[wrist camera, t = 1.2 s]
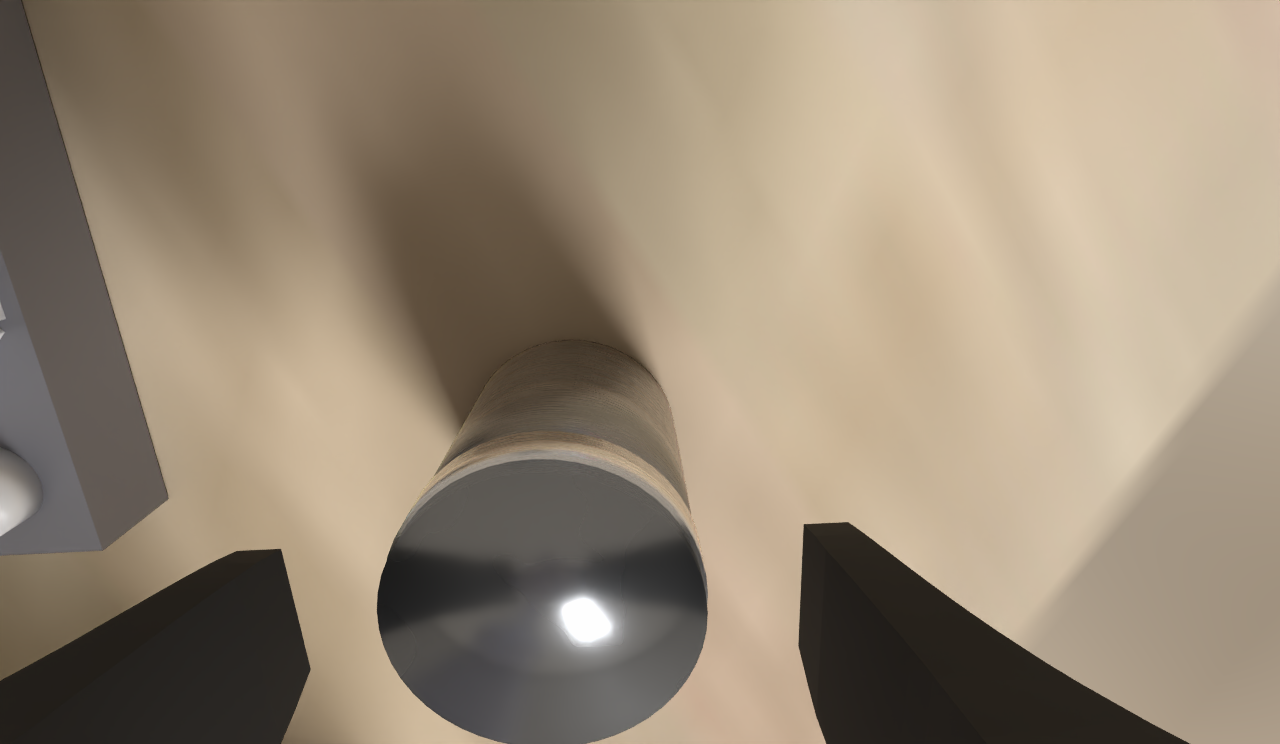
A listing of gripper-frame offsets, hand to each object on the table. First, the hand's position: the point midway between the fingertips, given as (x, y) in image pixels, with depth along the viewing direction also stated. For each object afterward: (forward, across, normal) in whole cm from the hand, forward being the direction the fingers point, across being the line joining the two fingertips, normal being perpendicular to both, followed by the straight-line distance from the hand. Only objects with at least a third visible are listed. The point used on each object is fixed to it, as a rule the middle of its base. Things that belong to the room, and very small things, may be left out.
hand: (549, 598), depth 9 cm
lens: (+6, 0, 0) cm, 6 cm away
